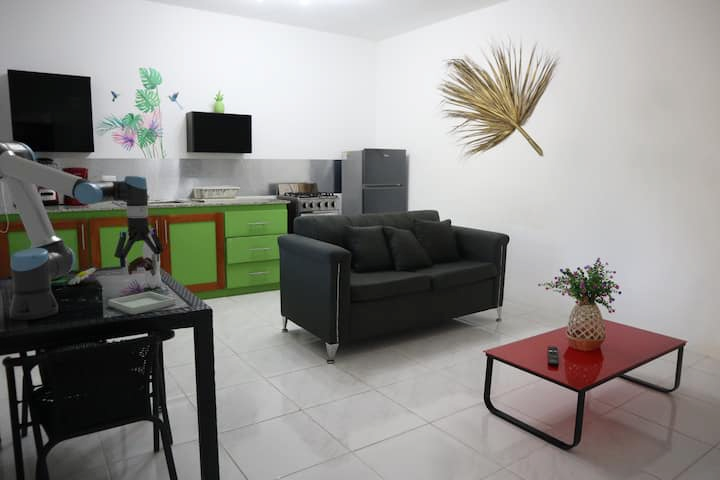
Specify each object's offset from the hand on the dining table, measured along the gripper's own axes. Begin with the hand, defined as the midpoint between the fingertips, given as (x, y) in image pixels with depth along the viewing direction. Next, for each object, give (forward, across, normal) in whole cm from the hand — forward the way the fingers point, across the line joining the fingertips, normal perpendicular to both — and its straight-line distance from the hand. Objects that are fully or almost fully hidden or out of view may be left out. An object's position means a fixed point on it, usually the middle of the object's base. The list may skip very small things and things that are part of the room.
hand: (140, 272), depth 201 cm
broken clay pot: (+1, 0, -1) cm, 1 cm away
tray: (+13, 0, 0) cm, 13 cm away
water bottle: (+13, +19, +24) cm, 33 cm away
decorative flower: (+13, -6, +58) cm, 59 cm away
